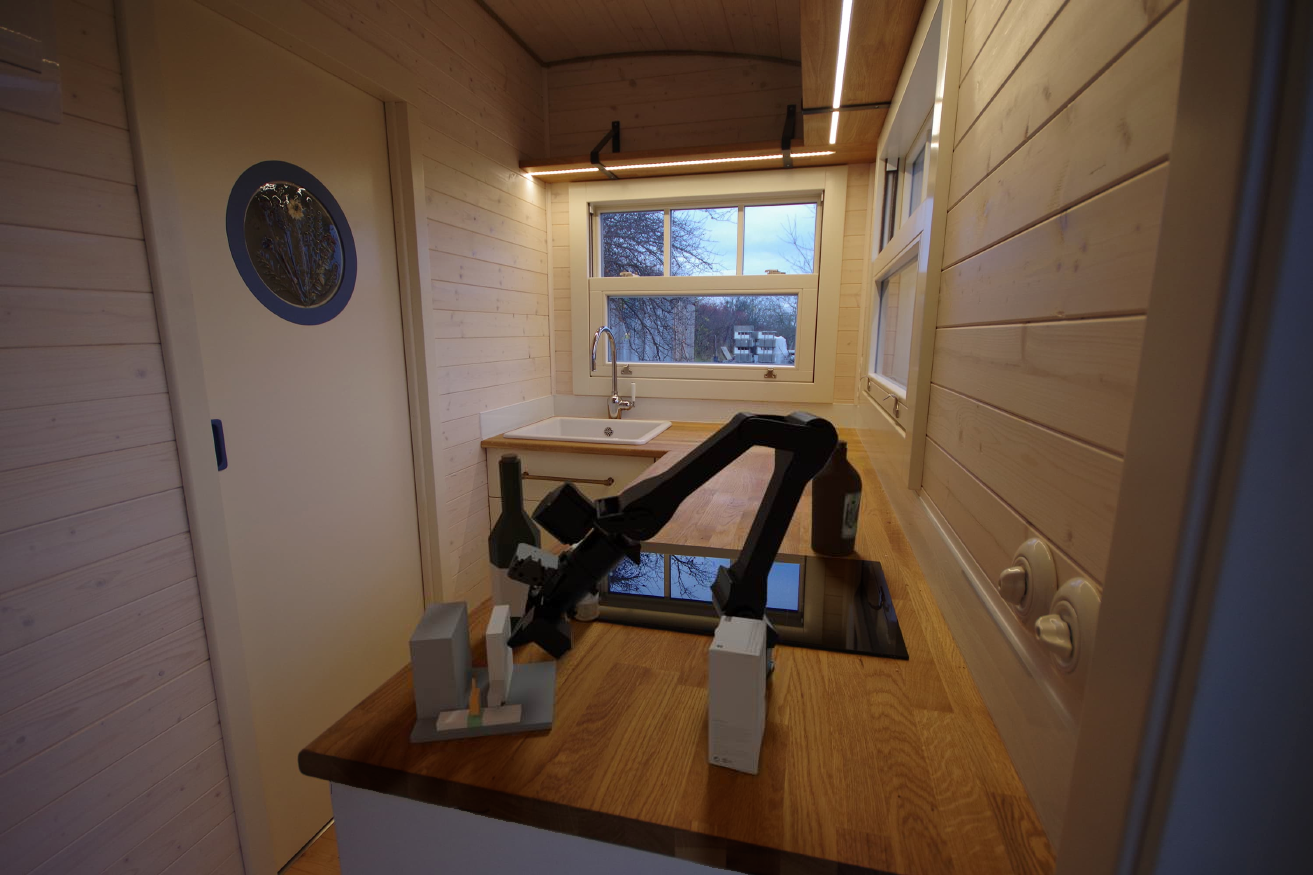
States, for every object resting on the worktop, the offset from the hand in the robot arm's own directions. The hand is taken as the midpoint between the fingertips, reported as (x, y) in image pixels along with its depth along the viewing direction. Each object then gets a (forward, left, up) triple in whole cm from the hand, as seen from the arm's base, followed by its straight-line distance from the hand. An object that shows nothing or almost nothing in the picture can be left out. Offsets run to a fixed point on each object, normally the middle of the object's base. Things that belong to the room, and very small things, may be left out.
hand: (509, 645), depth 72 cm
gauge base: (+2, +3, -7) cm, 8 cm away
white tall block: (0, +2, -6) cm, 6 cm away
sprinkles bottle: (+2, -21, -8) cm, 23 cm away
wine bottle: (+10, -13, -8) cm, 19 cm away
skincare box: (-31, -5, -8) cm, 32 cm away
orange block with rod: (0, +7, -5) cm, 9 cm away
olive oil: (-32, -70, -8) cm, 78 cm away
